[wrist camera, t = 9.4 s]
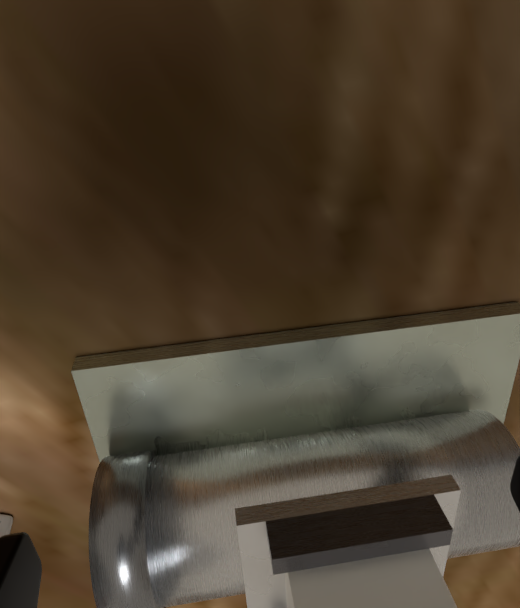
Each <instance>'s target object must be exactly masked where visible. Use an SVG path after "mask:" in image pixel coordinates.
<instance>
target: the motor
mask: <svg viewBox="0 0 520 608" xmlns="http://www.w3.org/2000/svg"><path fill="white" fill-rule="evenodd" d="M519 358H520V304H519V303H518V302H511V303H503V304H495V305H487V306H479V307H471V308H463V309H455V310H447V311H439V312H431V313H424V314H416V315H408V316H400V317H392V318H384V319H376V320H368V321H360V322H352V323H344V324H336V325H328V326H320V327H312V328H304V329H296V330H288V331H280V332H272V333H264V334H256V335H248V336H241V337H233V338H225V339H217V340H209V341H201V342H193V343H185V344H177V345H169V346H161V347H153V348H145V349H137V350H129V351H121V352H113V353H105V354H97V355H89V356H81V357H76V359H75V362H74V365H73V367H72V370H71V372H72V375H73V378H74V382H75V385H76V388H77V391H78V394H79V398H80V401H81V404H82V407H83V410H84V413H85V417H86V420H87V423H88V426H89V429H90V432H91V436H92V439H93V442H94V445H95V448H96V451H97V455H98V458H99V461H100V464H99V467H98V469H97V472H96V475H95V479H94V484H93V489H92V496H91V504H90V517H89V559H90V571H91V580H92V587H93V593H94V598H95V602H96V606H97V608H166V607H170V606H176V605H181V604H187V603H193V602H199V601H205V600H210V599H216V598H222V597H228V596H234V595H239V594H245V593H246V601H247V608H287V603H286V587H285V573H287V572H293V571H299V570H305V569H311V568H317V567H323V566H329V565H335V564H340V563H346V562H352V561H358V560H364V559H370V558H376V557H382V556H388V555H393V554H399V553H405V552H411V551H417V550H423V549H429V550H430V552H431V554H432V556H433V558H434V560H435V562H436V564H437V566H438V568H439V570H440V573H441V575H442V577H443V575H444V570H445V565H446V561H447V559H448V558H454V557H460V556H466V555H472V554H477V553H483V552H489V551H495V550H501V549H506V548H512V547H518V546H520V512H519V510H518V508H517V506H516V504H515V502H514V500H513V497H512V494H511V491H510V482H511V478H512V475H513V471H514V467H515V463H516V460H517V458H518V457H519V456H520V448H519V447H518V445H517V443H516V441H515V440H514V438H513V436H512V435H511V433H510V432H509V431H508V429H507V428H506V427H505V426H504V420H505V416H506V411H507V407H508V403H509V399H510V395H511V391H512V387H513V383H514V379H515V375H516V370H517V366H518V362H519Z"/></svg>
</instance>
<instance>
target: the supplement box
mask: <svg viewBox="0 0 520 608" xmlns="http://www.w3.org/2000/svg"><path fill="white" fill-rule="evenodd" d="M12 523H13V517H12V516H9V515H3V514H0V537H2V536H4V535H8V534H10V531H11V527H12Z"/></svg>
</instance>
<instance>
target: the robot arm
mask: <svg viewBox="0 0 520 608" xmlns="http://www.w3.org/2000/svg"><path fill="white" fill-rule="evenodd" d="M510 491H511V494H512V497H513V500H514V502H515V504H516V506H517V508H518V510H519V512H520V456H519V457H518V458H517V460H516V463H515V467H514V471H513V475H512V478H511V482H510ZM41 572H42V568H41V561H40V558H39V556H38V554H37V552H36V550H35V547H34V545H33V543H32V541H31V539H30V537H29V535H28V534H26V533H25V532H21V533H14V534H8V535H4V536H2V537H0V608H37V603H38V595H39V588H40V581H41Z"/></svg>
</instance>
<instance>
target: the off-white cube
mask: <svg viewBox="0 0 520 608" xmlns="http://www.w3.org/2000/svg"><path fill="white" fill-rule="evenodd" d="M285 587H286V603H287V608H457V606H456V604H455V602H454V600H453V598H452V596H451V593H450V591H449V589H448V587H447V585H446V583H445V581H444V579H443V577H442V575H441V573H440V570H439V568H438V566H437V564H436V562H435V560H434V558H433V556H432V554H431V552H430V550H429V549H423V550H417V551H411V552H405V553H399V554H393V555H388V556H382V557H376V558H370V559H364V560H358V561H352V562H346V563H340V564H335V565H329V566H323V567H317V568H311V569H305V570H299V571H293V572H287V573H285Z"/></svg>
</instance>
